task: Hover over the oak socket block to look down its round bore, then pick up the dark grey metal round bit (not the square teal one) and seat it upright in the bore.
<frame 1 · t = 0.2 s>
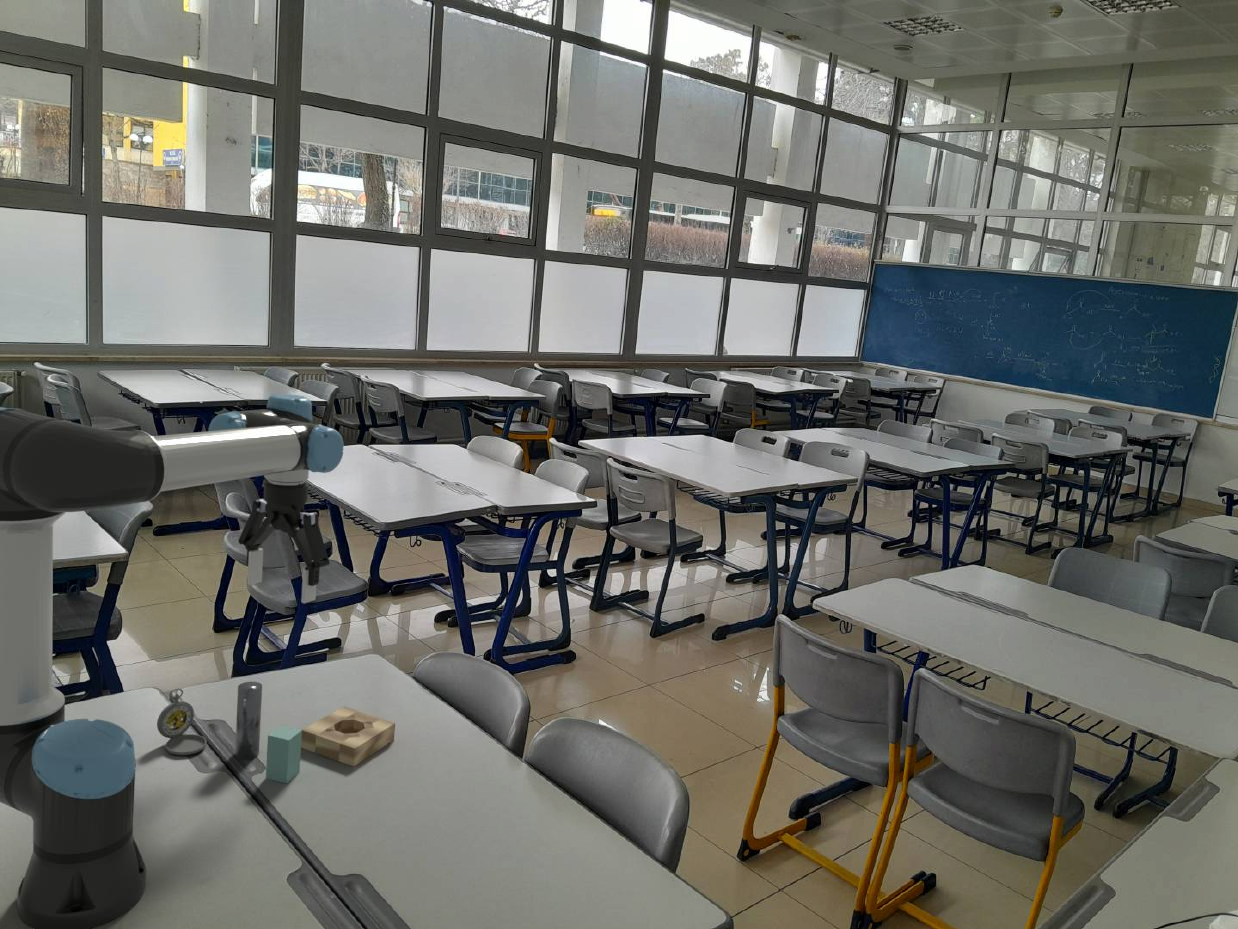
hand: (281, 592, 171), 27 cm above the table, fingers open, 13 cm apart
socket block: (348, 743, 174), on the table
round bit: (247, 753, 166), on the table
square bit: (282, 775, 161), on the table
pocket watch: (183, 746, 166), on the table
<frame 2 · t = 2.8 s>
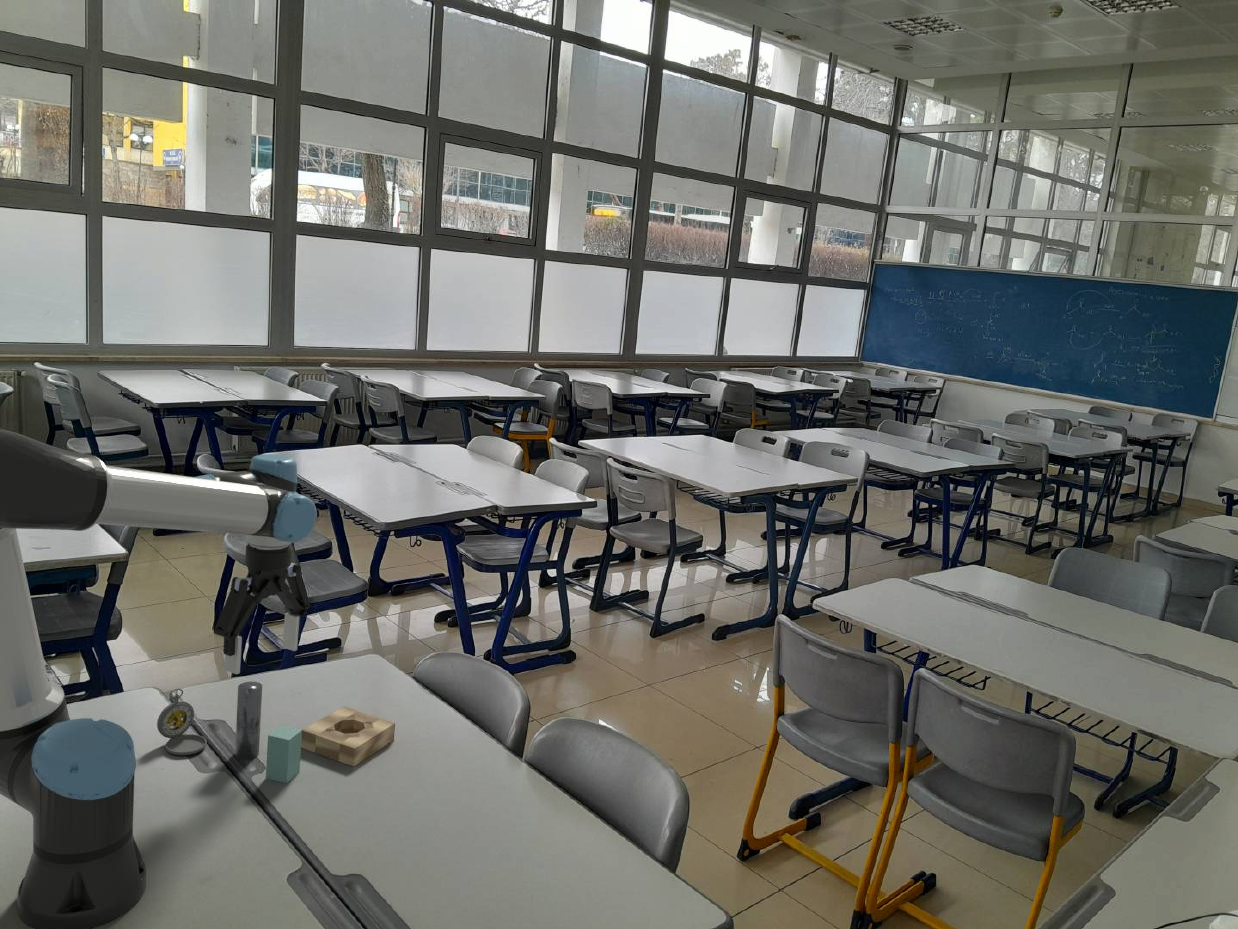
hand: (262, 660, 163), 18 cm above the table, fingers open, 13 cm apart
nothing on the table moved.
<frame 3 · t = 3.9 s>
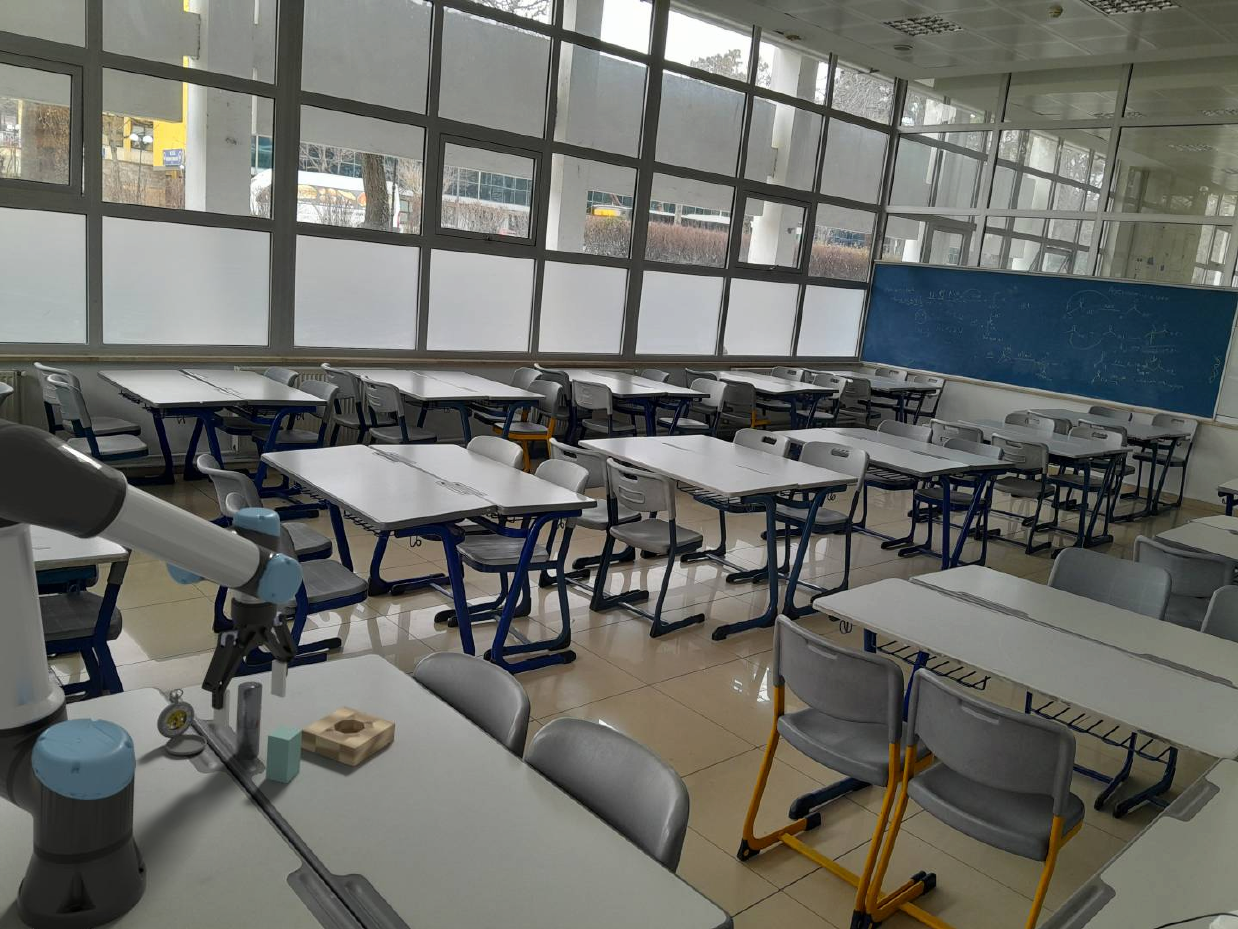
hand: (250, 709, 165), 8 cm above the table, fingers open, 13 cm apart
nothing on the table moved.
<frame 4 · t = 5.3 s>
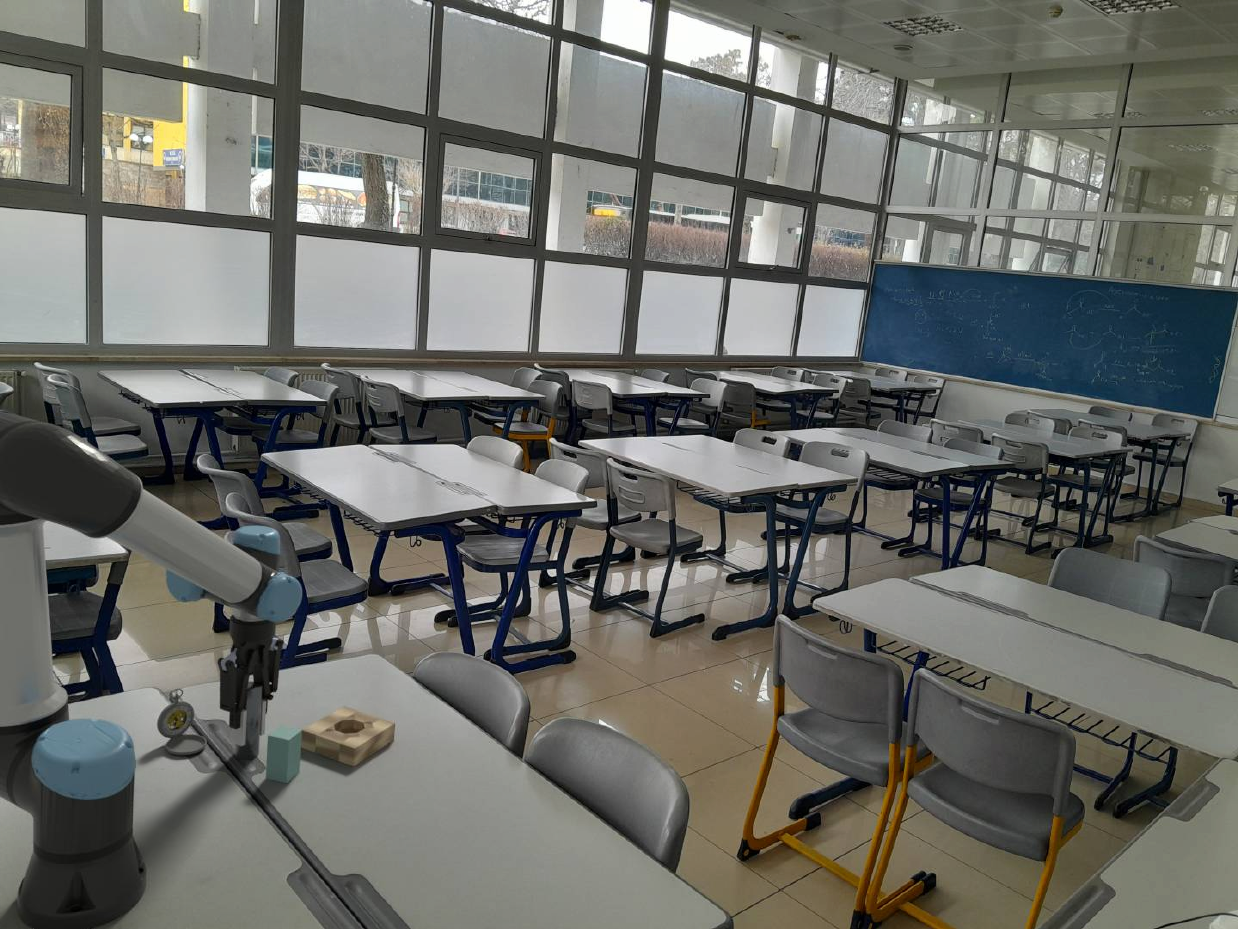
hand: (247, 737, 165), 3 cm above the table, fingers closed on round bit, 4 cm apart
round bit: (246, 753, 166), on the table, touching gripper
everything else where it was.
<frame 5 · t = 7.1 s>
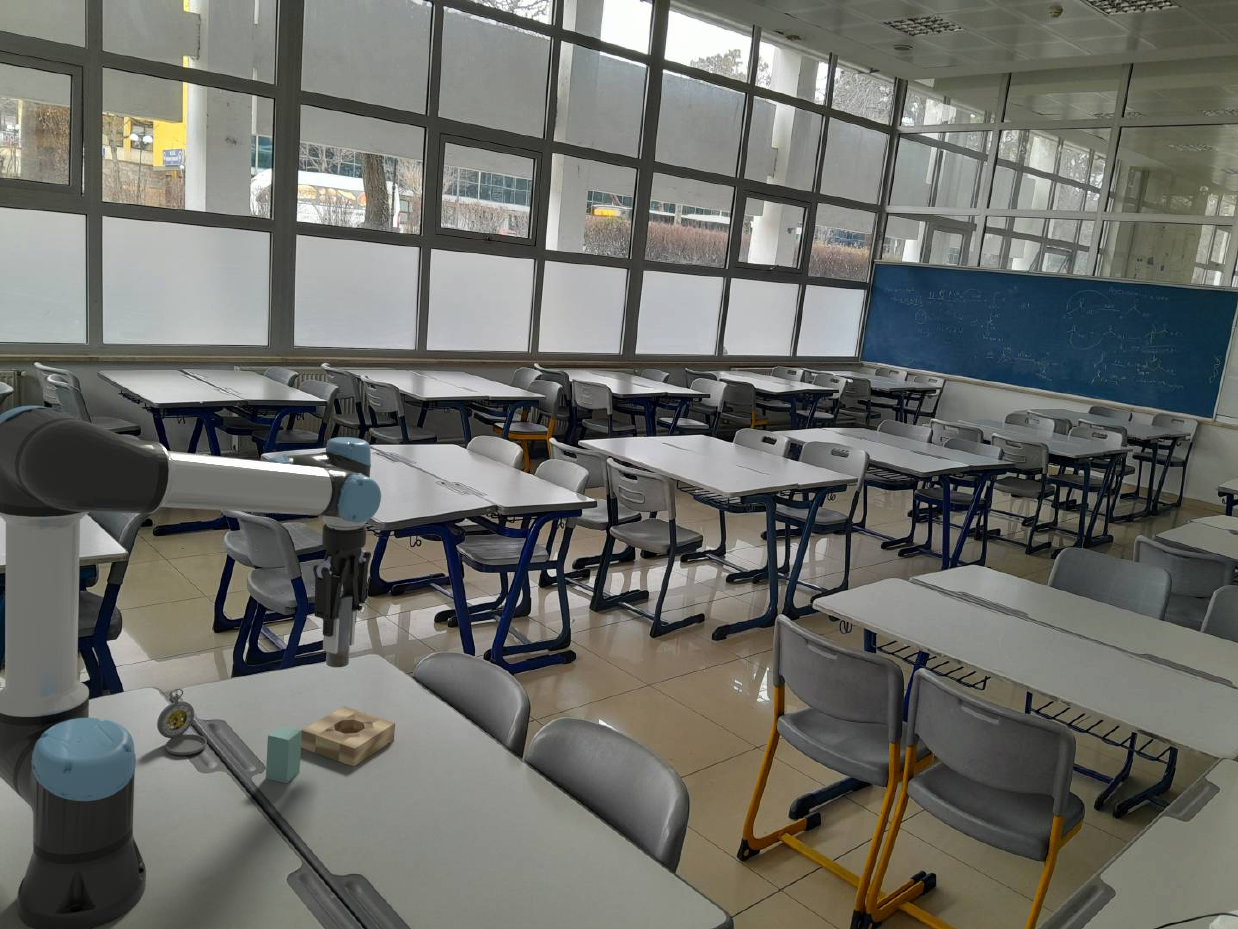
hand: (338, 647, 169), 19 cm above the table, fingers closed on round bit, 4 cm apart
round bit: (337, 662, 170), point 16 cm above the table, touching gripper
everything else where it was.
when the fingers open (5 cm above the table, at t = 9.4 s): round bit drops 1 cm, resting in socket block.
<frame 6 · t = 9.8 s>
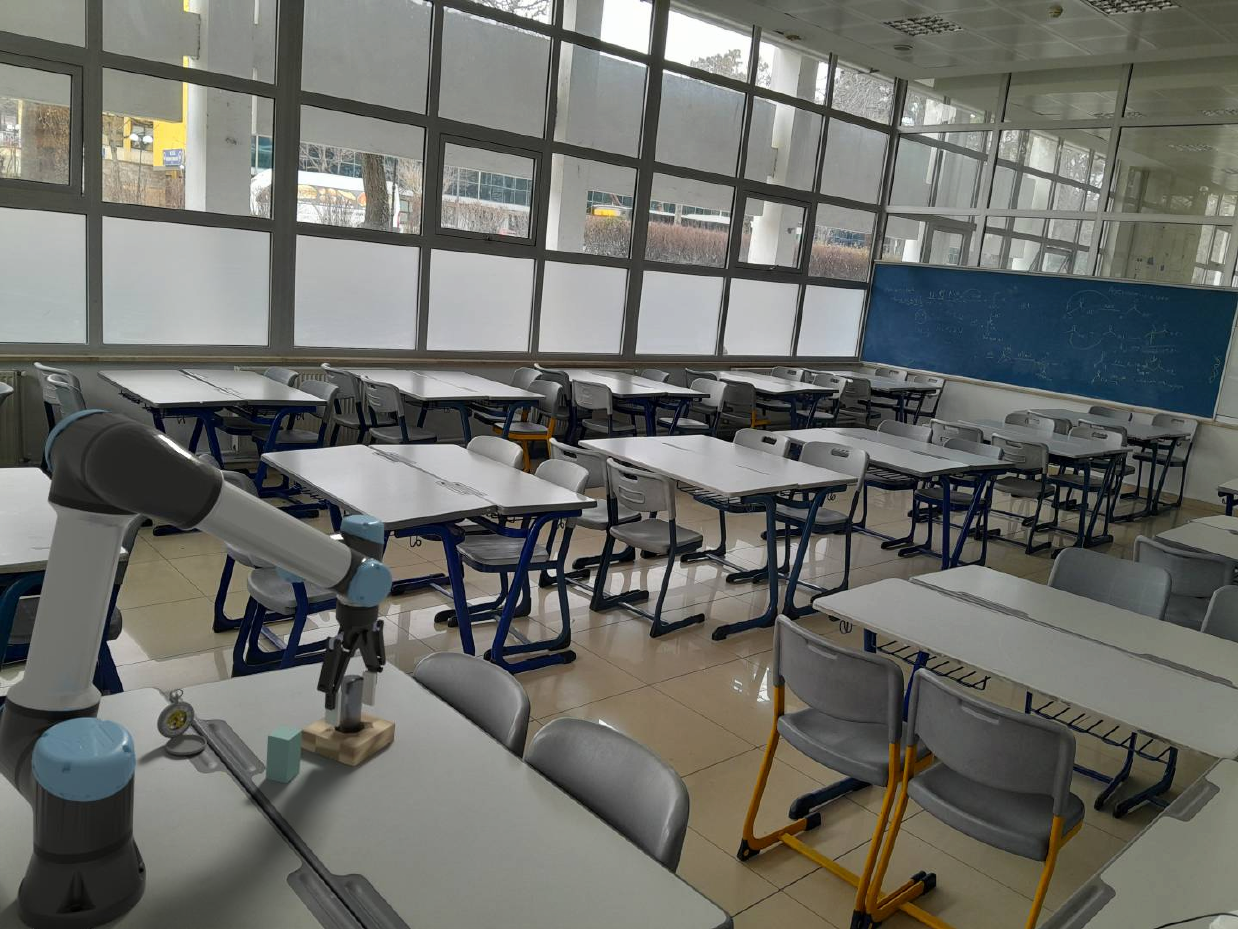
hand: (350, 713, 173), 6 cm above the table, fingers open, 9 cm apart
round bit: (348, 743, 174), resting in socket block
everything else where it was.
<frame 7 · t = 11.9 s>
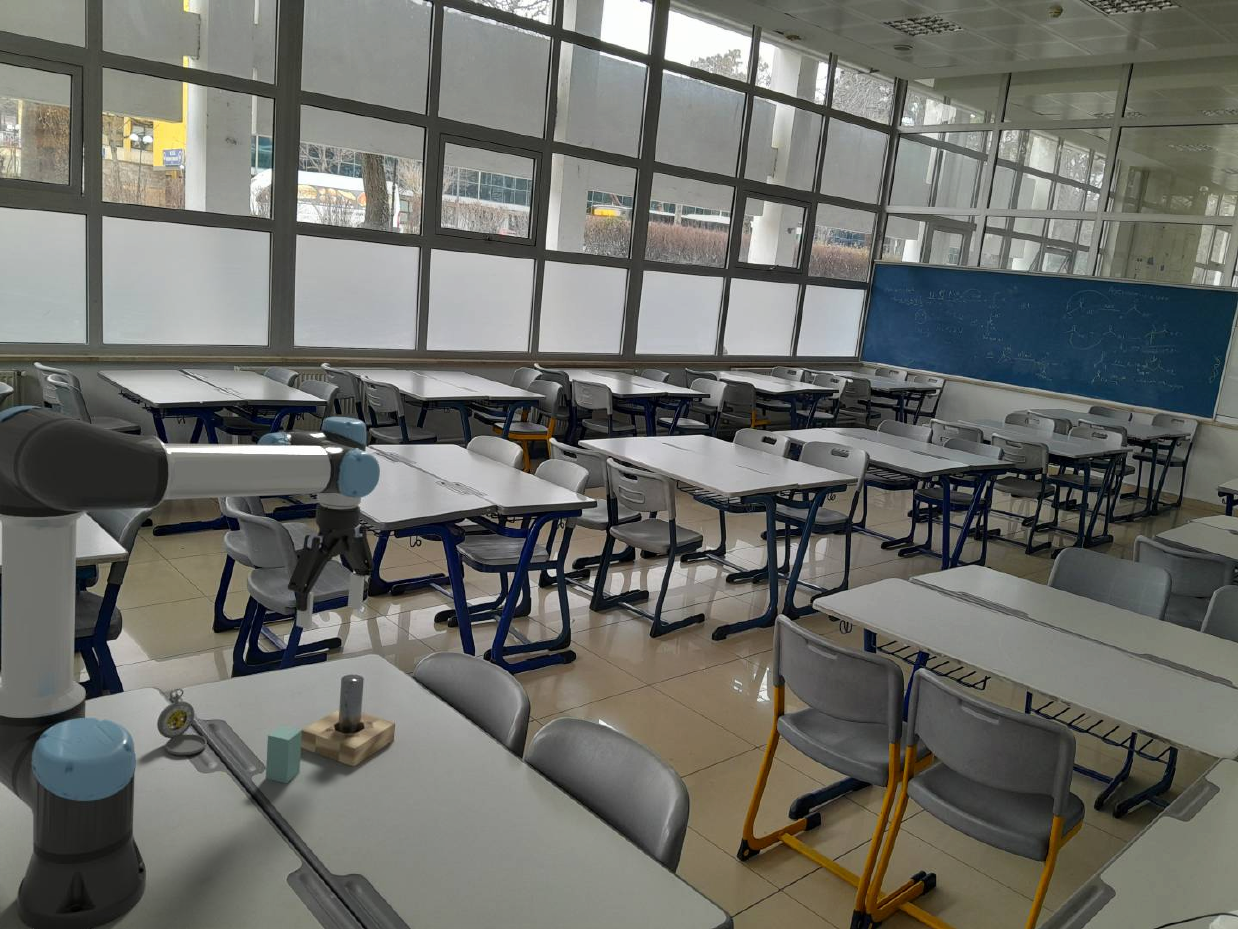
hand: (330, 617, 168), 25 cm above the table, fingers open, 13 cm apart
nothing on the table moved.
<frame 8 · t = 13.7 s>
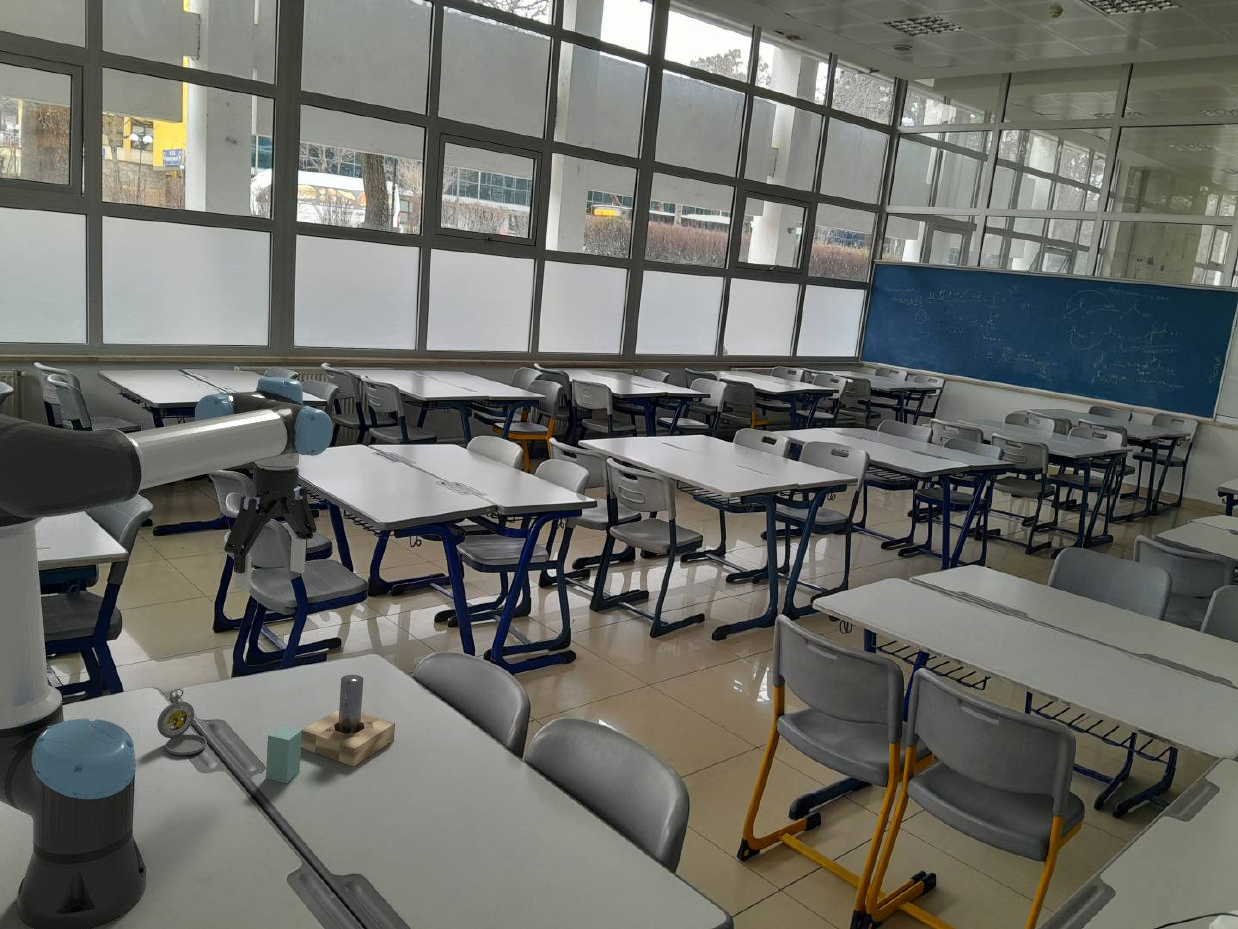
hand: (270, 580, 167), 31 cm above the table, fingers open, 13 cm apart
nothing on the table moved.
at the end: round bit 0.0 cm off-centre on the socket block, point 0.0 cm above the socket block's base; round bit tilted 0°; the gripper is holding nothing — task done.
